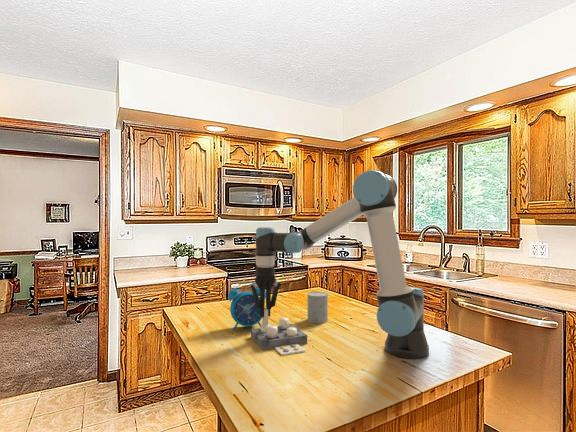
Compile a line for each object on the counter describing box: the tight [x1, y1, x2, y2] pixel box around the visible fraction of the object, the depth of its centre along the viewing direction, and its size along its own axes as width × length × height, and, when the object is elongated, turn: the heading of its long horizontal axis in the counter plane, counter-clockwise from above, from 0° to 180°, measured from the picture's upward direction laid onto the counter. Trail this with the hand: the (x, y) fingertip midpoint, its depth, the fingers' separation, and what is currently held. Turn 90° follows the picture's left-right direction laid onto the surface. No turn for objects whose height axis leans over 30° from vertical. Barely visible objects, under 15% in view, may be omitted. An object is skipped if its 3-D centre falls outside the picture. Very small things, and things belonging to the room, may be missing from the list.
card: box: [274, 344, 306, 357], centre depth 128 cm, size 7×9×1 cm
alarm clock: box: [227, 280, 266, 332], centre depth 153 cm, size 17×10×20 cm, turn 104°
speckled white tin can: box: [306, 291, 329, 324], centre depth 164 cm, size 10×10×12 cm
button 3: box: [278, 317, 290, 329], centre depth 144 cm, size 4×4×4 cm
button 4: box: [287, 327, 298, 337], centre depth 136 cm, size 4×4×4 cm
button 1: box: [259, 323, 271, 333], centre depth 141 cm, size 4×4×4 cm
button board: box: [250, 323, 308, 351], centre depth 138 cm, size 15×18×3 cm
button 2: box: [267, 325, 278, 338], centre depth 133 cm, size 4×4×4 cm
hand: (265, 324), depth 141 cm, fingers closed
